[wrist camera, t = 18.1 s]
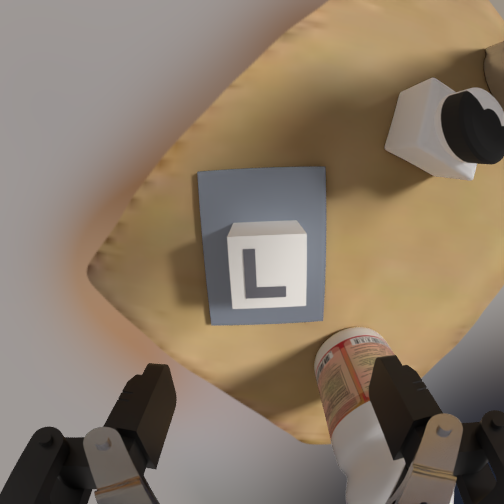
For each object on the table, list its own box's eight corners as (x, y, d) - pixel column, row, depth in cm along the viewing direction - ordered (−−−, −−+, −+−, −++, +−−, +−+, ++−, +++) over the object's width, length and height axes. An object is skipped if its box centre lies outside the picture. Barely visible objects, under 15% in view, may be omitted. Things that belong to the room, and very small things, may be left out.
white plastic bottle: (374, 310, 31) (508, 523, 4) (391, 365, 33) (482, 543, 6) (300, 345, 33) (346, 596, 6) (326, 395, 35) (371, 592, 8)
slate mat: (198, 171, 28) (197, 171, 27) (323, 166, 27) (325, 166, 26) (212, 321, 32) (211, 325, 31) (321, 317, 31) (322, 320, 31)
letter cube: (237, 283, 30) (232, 310, 24) (233, 222, 28) (226, 237, 22) (297, 280, 29) (306, 307, 24) (296, 220, 28) (307, 233, 22)
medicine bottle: (434, 177, 27) (509, 187, 15) (382, 149, 26) (450, 143, 15) (448, 121, 25) (521, 111, 14) (399, 91, 25) (465, 61, 13)
